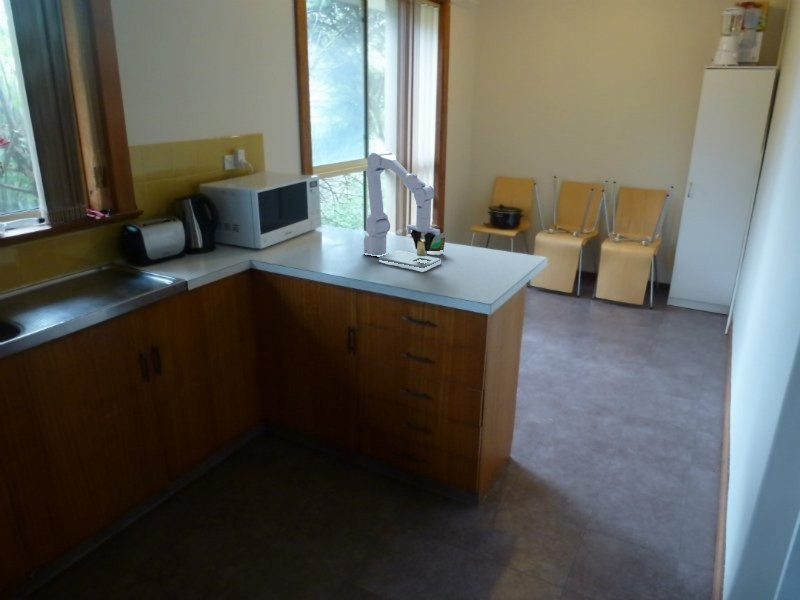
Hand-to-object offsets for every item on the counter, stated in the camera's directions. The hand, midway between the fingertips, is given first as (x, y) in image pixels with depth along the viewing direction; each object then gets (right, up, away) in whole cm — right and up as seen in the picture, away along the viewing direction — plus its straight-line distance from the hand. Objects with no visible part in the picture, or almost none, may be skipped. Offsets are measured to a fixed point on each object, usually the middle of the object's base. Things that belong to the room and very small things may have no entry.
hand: (422, 249), depth 240 cm
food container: (+4, 0, +20) cm, 21 cm away
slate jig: (-5, -5, +6) cm, 9 cm away
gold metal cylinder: (0, -2, +1) cm, 2 cm away
